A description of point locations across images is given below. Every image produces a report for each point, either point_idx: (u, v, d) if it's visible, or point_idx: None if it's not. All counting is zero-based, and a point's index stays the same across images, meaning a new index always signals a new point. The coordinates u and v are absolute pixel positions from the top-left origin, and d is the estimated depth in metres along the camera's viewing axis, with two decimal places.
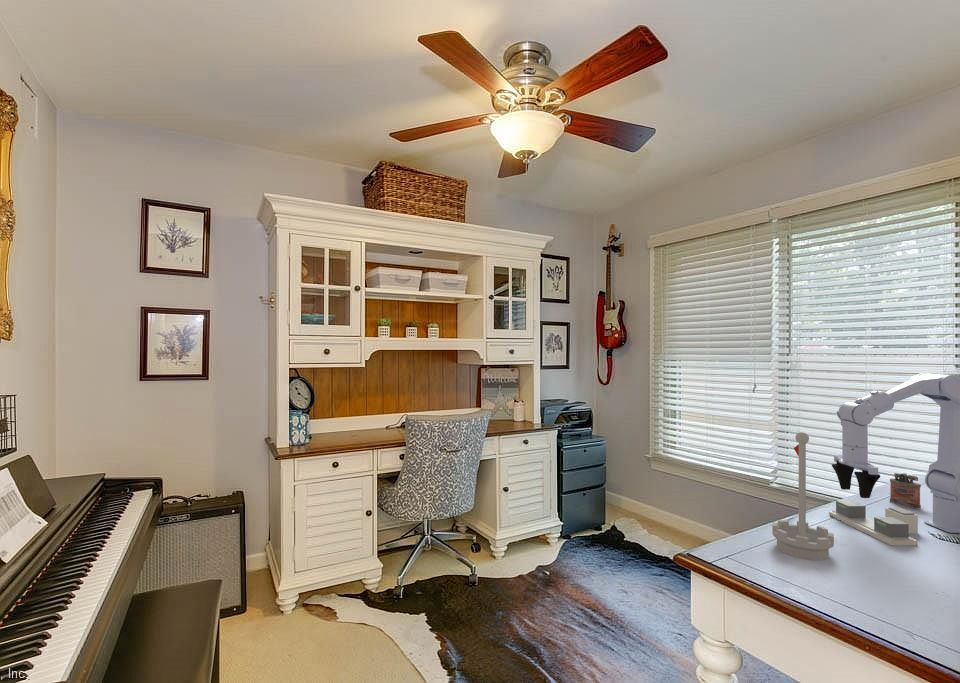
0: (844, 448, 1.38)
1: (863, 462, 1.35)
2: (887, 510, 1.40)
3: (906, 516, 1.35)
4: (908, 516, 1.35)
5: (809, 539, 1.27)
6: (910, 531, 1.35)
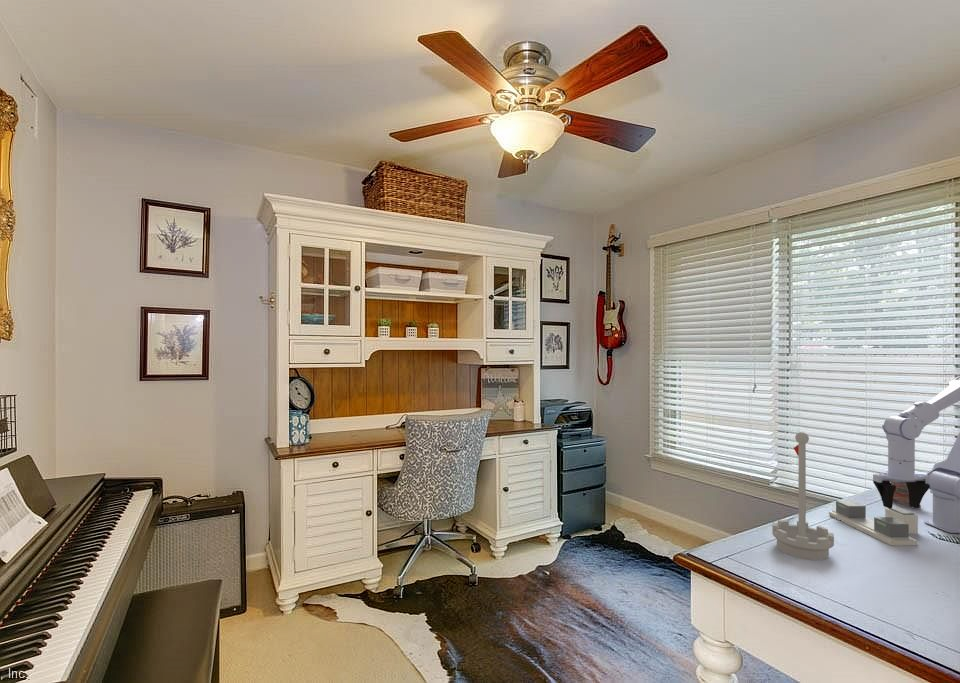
0: None
1: (892, 474, 1.37)
2: (887, 510, 1.40)
3: (906, 516, 1.35)
4: (908, 516, 1.35)
5: (809, 538, 1.27)
6: (910, 531, 1.35)
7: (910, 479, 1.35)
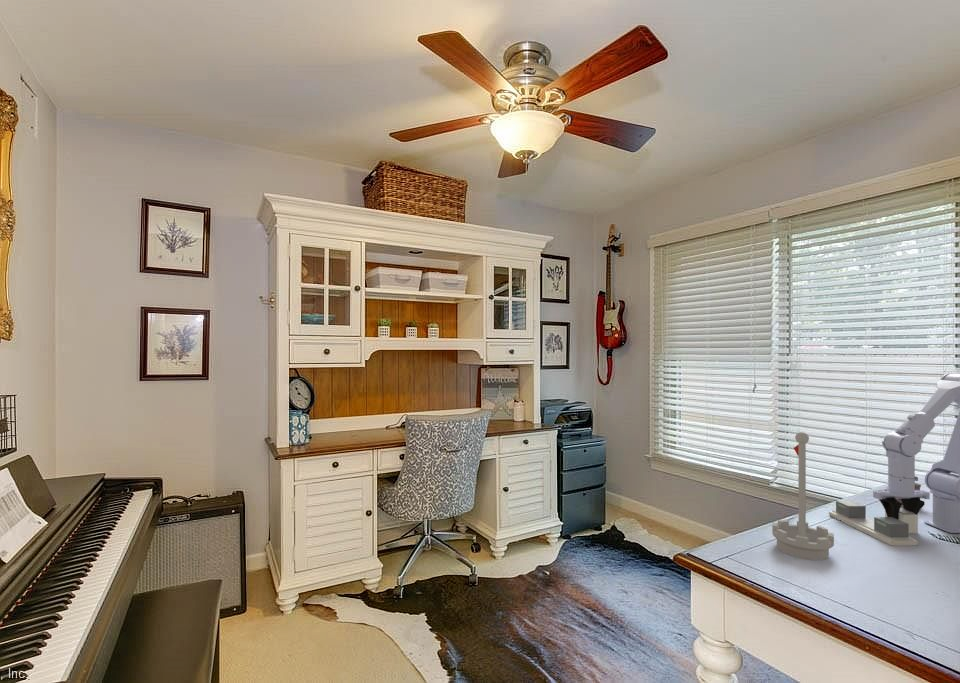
0: None
1: (892, 491, 1.37)
2: None
3: (906, 516, 1.35)
4: (908, 516, 1.35)
5: (809, 539, 1.27)
6: (910, 531, 1.35)
7: (910, 496, 1.35)
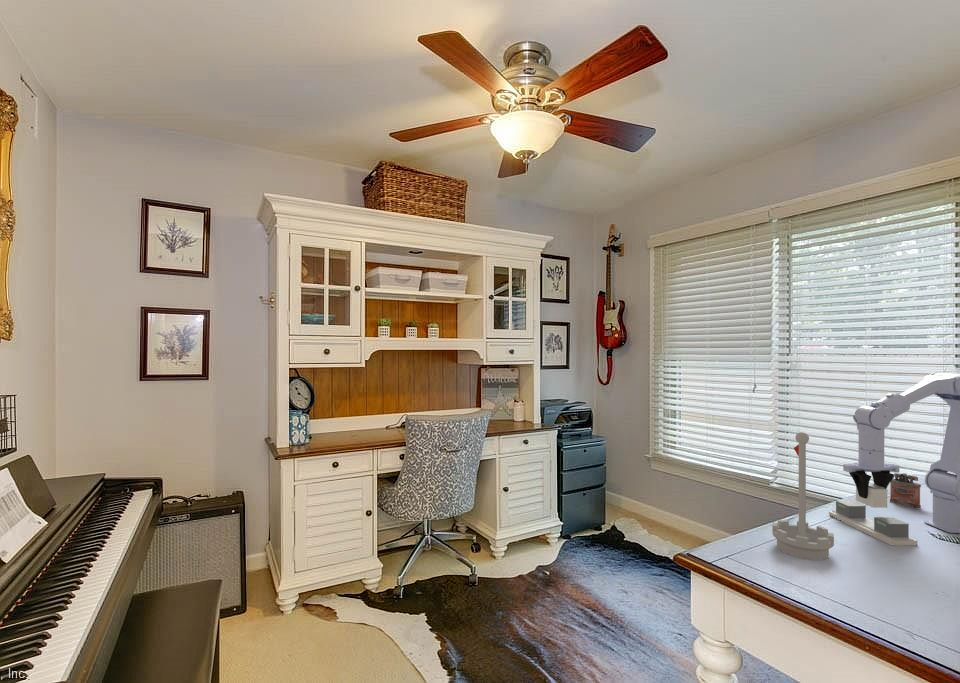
0: None
1: (862, 464, 1.37)
2: None
3: (876, 490, 1.34)
4: (878, 490, 1.34)
5: (809, 539, 1.27)
6: (880, 505, 1.34)
7: (879, 469, 1.35)
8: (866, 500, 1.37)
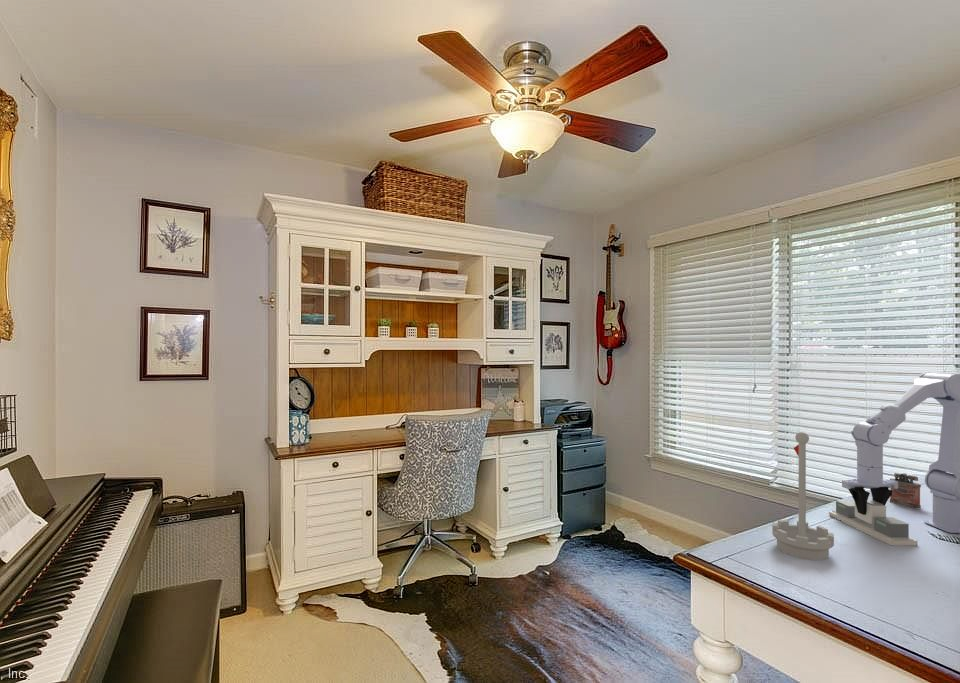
0: None
1: (861, 480, 1.37)
2: None
3: (874, 507, 1.34)
4: (876, 507, 1.34)
5: (809, 539, 1.27)
6: None
7: (878, 485, 1.35)
8: (864, 516, 1.37)
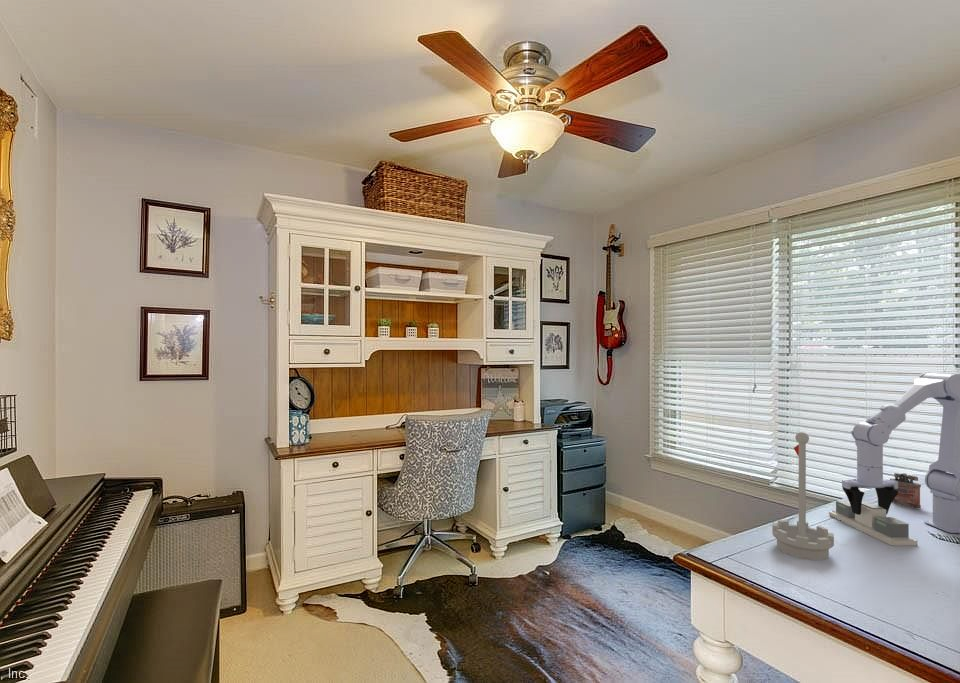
0: None
1: (861, 480, 1.37)
2: None
3: (874, 510, 1.34)
4: (876, 510, 1.34)
5: (809, 539, 1.27)
6: None
7: (878, 485, 1.35)
8: (865, 520, 1.37)
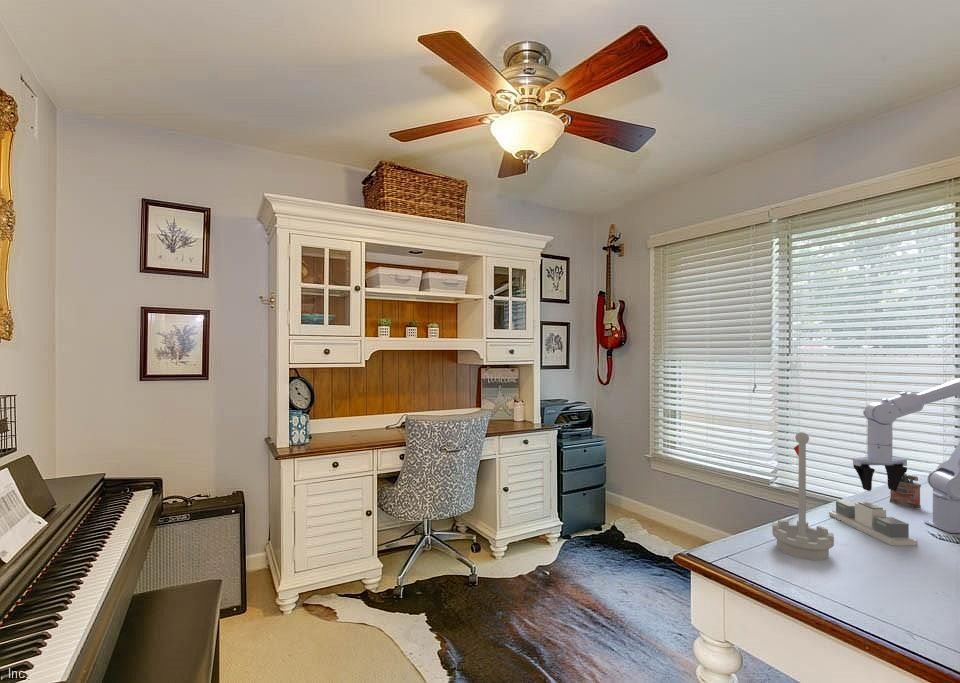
0: None
1: (871, 458, 1.43)
2: (856, 505, 1.40)
3: (874, 510, 1.34)
4: (876, 510, 1.34)
5: (809, 539, 1.27)
6: None
7: (888, 462, 1.40)
8: (865, 520, 1.37)
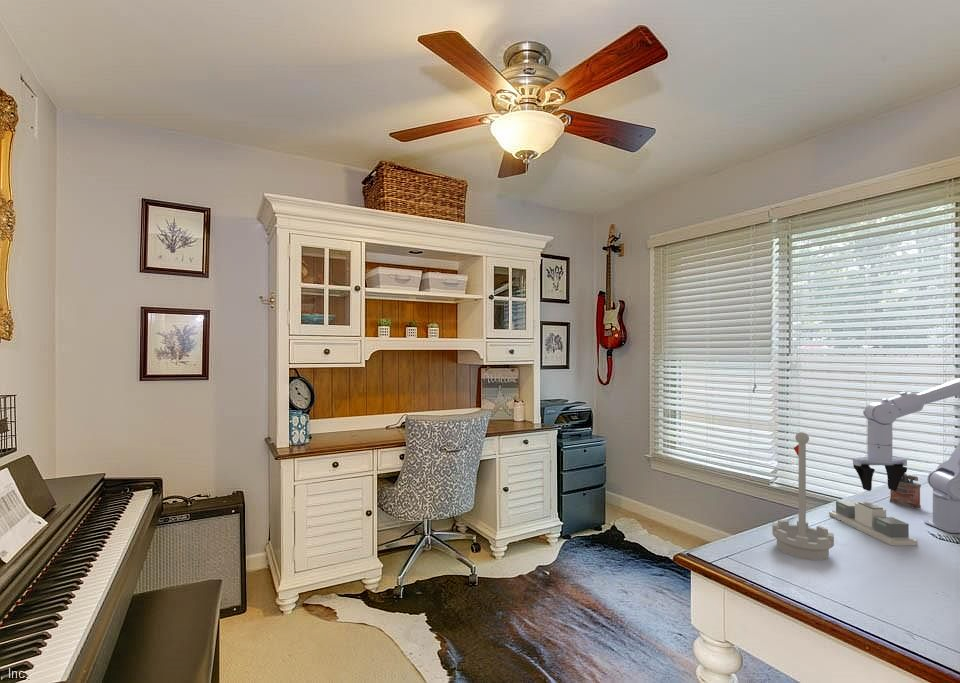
0: None
1: (871, 458, 1.43)
2: (856, 505, 1.40)
3: (874, 510, 1.34)
4: (876, 510, 1.34)
5: (809, 539, 1.27)
6: None
7: (888, 462, 1.40)
8: (865, 520, 1.37)
